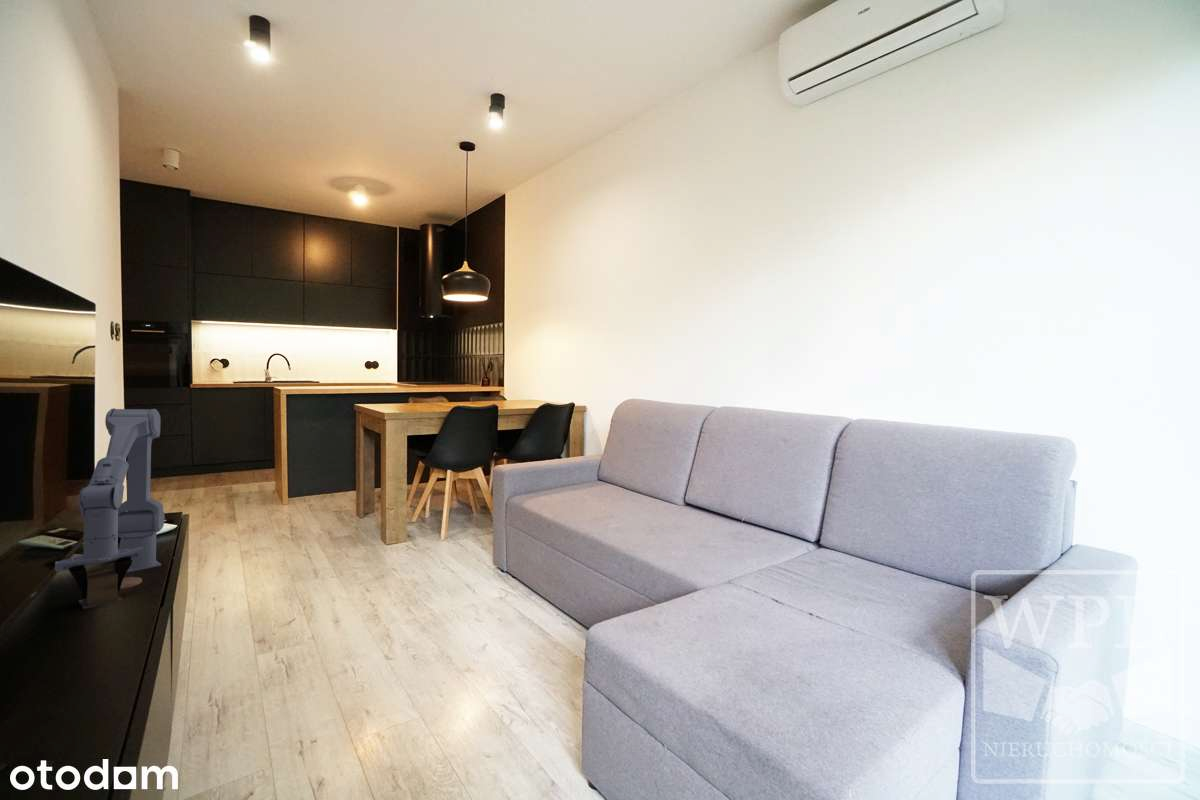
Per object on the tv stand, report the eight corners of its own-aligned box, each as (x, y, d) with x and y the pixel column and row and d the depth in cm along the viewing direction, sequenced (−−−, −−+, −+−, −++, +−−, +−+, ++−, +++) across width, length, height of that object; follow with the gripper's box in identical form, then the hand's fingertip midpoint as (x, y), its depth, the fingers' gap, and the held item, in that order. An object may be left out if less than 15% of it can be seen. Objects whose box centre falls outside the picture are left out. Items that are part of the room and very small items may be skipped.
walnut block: (83, 600, 120) (83, 574, 119) (112, 593, 124) (112, 569, 123) (87, 606, 117) (87, 580, 116) (117, 599, 121) (117, 574, 120)
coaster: (95, 585, 128) (95, 583, 128) (137, 576, 135) (137, 574, 135) (102, 594, 124) (102, 592, 124) (145, 585, 130) (145, 582, 130)
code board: (72, 601, 120) (72, 600, 120) (119, 591, 126) (119, 590, 126) (79, 612, 114) (79, 611, 114) (127, 601, 121) (127, 599, 121)
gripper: (59, 546, 112) (58, 609, 112) (146, 533, 123) (145, 589, 123) (53, 540, 116) (53, 599, 116) (138, 527, 127) (138, 581, 128)
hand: (100, 594), depth 120 cm, fingers closed on walnut block, 5 cm apart
